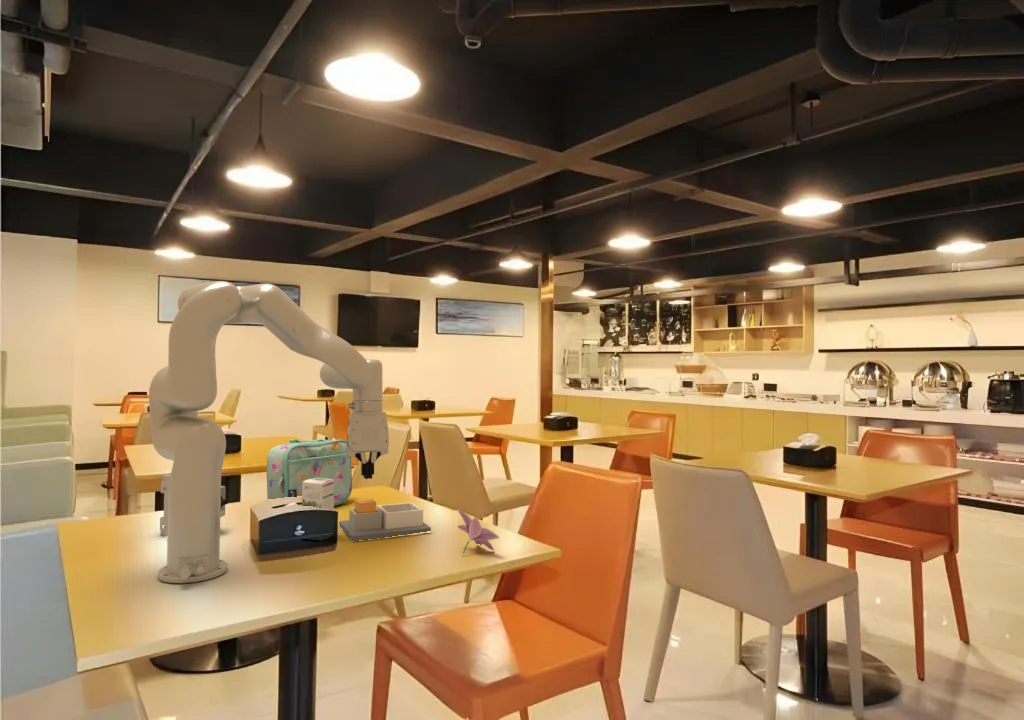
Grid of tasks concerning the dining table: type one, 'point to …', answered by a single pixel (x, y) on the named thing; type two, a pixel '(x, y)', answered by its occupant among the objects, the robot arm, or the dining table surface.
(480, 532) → the lily
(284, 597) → the dining table surface
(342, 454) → the lunch box
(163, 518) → the circuit breaker
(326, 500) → the syrup box
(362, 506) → the button
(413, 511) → the grey compartment tray
